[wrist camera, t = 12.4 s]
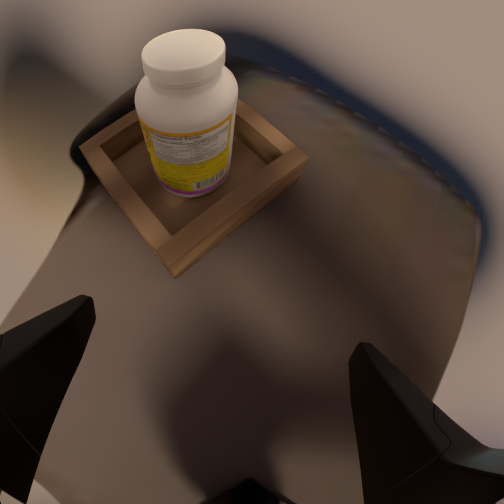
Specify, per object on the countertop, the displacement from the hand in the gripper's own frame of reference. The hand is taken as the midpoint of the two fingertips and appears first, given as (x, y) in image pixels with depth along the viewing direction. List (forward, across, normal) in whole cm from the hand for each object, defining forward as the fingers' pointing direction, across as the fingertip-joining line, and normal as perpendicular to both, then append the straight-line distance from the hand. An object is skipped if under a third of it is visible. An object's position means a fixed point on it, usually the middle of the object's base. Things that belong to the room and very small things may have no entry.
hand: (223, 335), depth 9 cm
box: (+19, +5, 0) cm, 20 cm away
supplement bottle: (+19, +5, -1) cm, 19 cm away
